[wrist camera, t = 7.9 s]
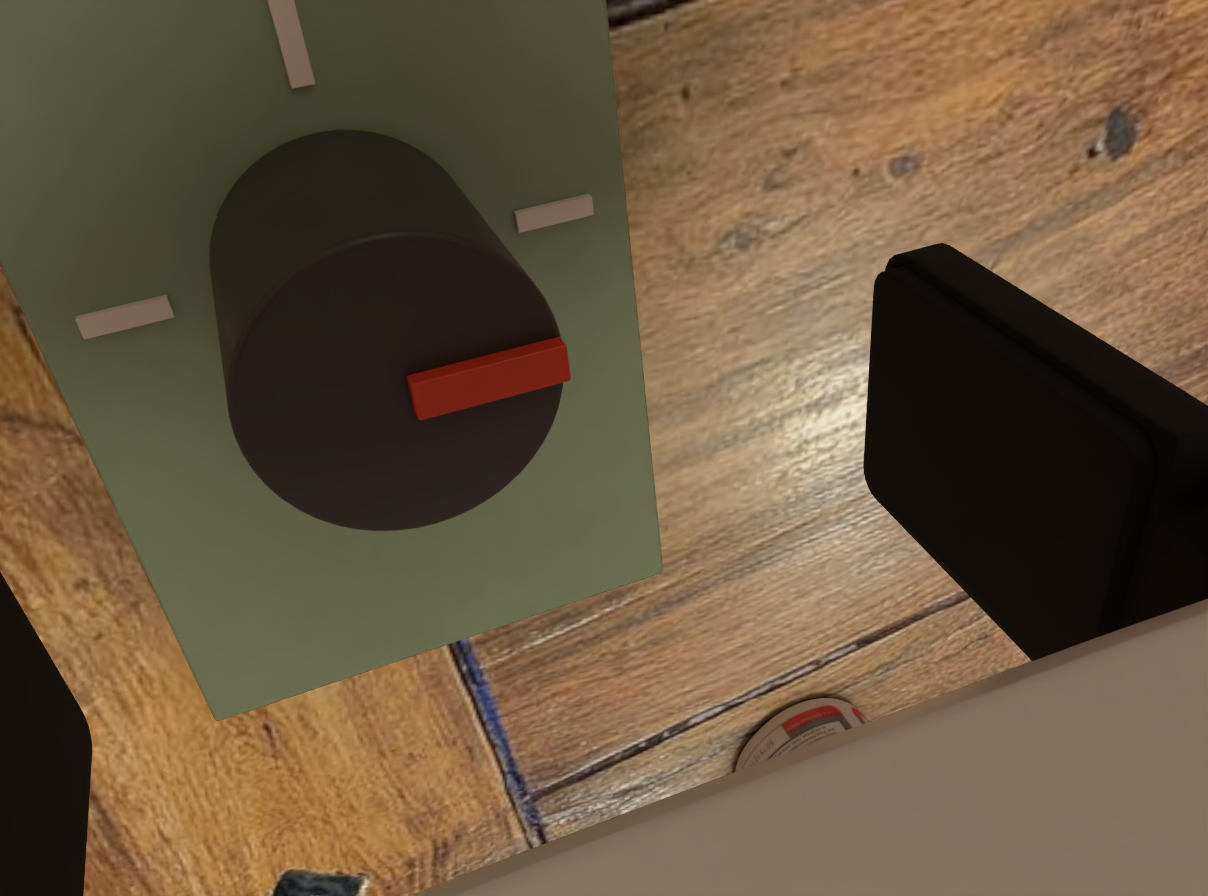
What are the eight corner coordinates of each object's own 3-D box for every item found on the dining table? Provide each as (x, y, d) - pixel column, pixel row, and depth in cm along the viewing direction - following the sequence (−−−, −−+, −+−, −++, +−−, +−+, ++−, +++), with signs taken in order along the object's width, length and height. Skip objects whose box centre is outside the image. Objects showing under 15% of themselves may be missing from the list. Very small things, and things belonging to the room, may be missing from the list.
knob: (252, 407, 18) (283, 585, 14) (170, 158, 16) (179, 287, 12) (496, 346, 19) (589, 494, 15) (454, 104, 17) (552, 204, 13)
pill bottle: (706, 797, 34) (844, 1046, 27) (775, 686, 32) (940, 921, 25) (815, 803, 36) (967, 1033, 29) (885, 699, 34) (1062, 918, 28)
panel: (-86, -34, 16) (-131, -2, 13) (537, -135, 18) (599, -122, 16) (208, 630, 24) (216, 729, 21) (617, 501, 26) (667, 577, 24)
